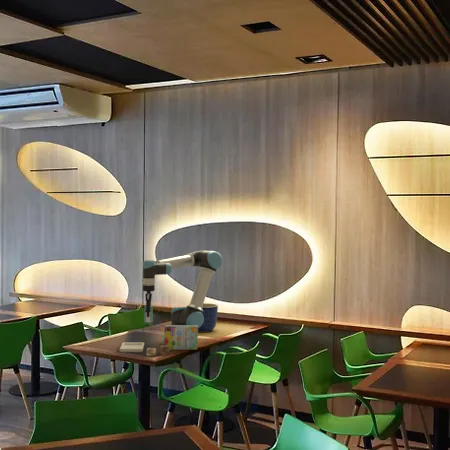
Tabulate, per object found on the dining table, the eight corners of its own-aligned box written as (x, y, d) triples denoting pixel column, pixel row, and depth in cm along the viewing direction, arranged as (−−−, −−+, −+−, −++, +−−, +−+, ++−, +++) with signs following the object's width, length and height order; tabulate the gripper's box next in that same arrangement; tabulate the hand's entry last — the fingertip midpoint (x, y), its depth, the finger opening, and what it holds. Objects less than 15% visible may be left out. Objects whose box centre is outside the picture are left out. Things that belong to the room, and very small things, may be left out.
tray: (144, 345, 402) (144, 342, 402) (142, 352, 382) (142, 348, 382) (122, 345, 401) (122, 342, 401) (119, 352, 381) (119, 348, 381)
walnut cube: (167, 353, 381) (167, 345, 381) (169, 354, 377) (169, 346, 377) (159, 353, 380) (159, 345, 380) (161, 355, 375) (161, 347, 375)
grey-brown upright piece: (170, 343, 410) (170, 333, 410) (170, 345, 404) (170, 334, 404) (161, 343, 410) (161, 333, 410) (161, 345, 404) (161, 334, 404)
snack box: (197, 348, 397) (197, 324, 397) (197, 350, 391) (197, 326, 391) (164, 347, 396) (165, 324, 396) (164, 349, 391) (164, 326, 390)
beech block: (156, 354, 376) (156, 348, 376) (154, 356, 372) (154, 349, 372) (148, 354, 377) (148, 347, 377) (146, 355, 373) (146, 349, 373)
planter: (221, 332, 454) (222, 306, 454) (195, 333, 446) (195, 307, 446) (211, 327, 473) (212, 302, 473) (186, 328, 466) (186, 303, 465)
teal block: (152, 321, 392) (152, 305, 392) (152, 322, 387) (152, 306, 387) (144, 321, 392) (144, 305, 391) (144, 322, 387) (144, 306, 386)
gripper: (143, 283, 398) (143, 318, 398) (141, 286, 380) (141, 323, 380) (155, 283, 398) (154, 318, 399) (154, 286, 380) (153, 323, 381)
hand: (148, 321), depth 389 cm, fingers closed on teal block, 5 cm apart
